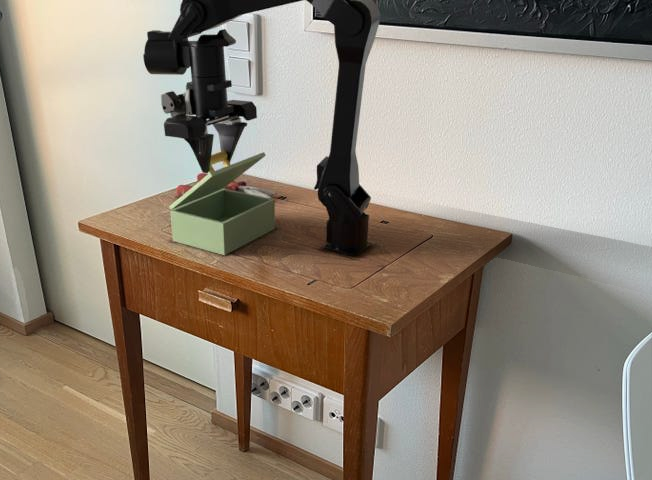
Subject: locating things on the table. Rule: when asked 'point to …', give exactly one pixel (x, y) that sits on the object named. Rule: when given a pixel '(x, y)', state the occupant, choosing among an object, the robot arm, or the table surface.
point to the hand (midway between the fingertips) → (216, 168)
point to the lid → (217, 177)
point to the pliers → (230, 188)
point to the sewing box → (223, 220)
